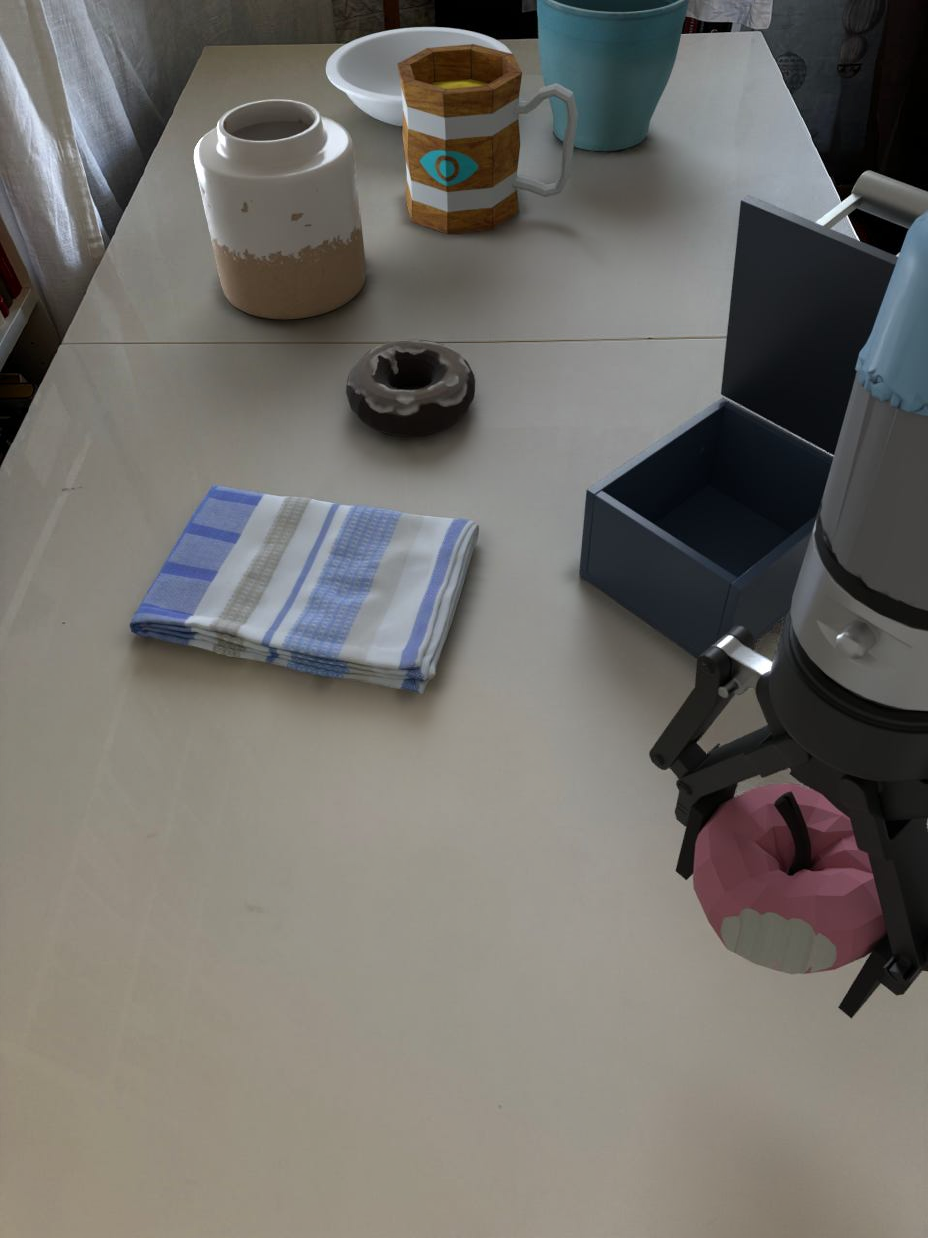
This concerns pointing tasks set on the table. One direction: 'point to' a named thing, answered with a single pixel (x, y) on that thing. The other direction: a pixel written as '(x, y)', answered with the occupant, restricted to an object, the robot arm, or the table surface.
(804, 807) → the apple
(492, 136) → the mug
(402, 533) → the dish towel
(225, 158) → the vase
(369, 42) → the soup bowl
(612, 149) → the flower pot
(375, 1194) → the table surface
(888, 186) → the lid
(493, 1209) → the table surface
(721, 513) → the blue storage box
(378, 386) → the donut
